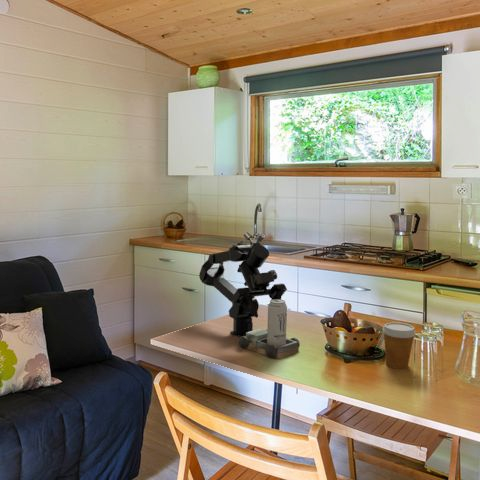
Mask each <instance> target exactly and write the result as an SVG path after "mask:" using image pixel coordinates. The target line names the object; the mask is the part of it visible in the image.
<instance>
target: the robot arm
mask: <svg viewBox="0 0 480 480" xmlns="http://www.w3.org/2000/svg"><path fill="white" fill-rule="evenodd" d="M269 256H270V250H269V249H267V247H265V246H264V245H261V243H260V242H254V243H253V244H252V246H251V244H239V245H238V244H236V245H232V246H231V247H229V248H228V250H224V251H220V252H213V253H210V254H209V256H208V259H207V260H206V261H205V262H204V263H203V264H202V265H201V268H200V271H199V273H198V274H199V279H200V282H201V283H202V284H204V285H205V286H209V287H213V288H215V289H216V290H217V291H219V293H221V295H223V296H224V297H225V298H226V299H227V300H228V301H229V302H230V303H231V304H232V305H231V307H230V309H229V310H228V316H229V317H230V318H231V319H233V328H232V329H233V330H232V331H230V332H229V333H230V334H232V335H235V336H238V337H239V338H240V337H242V336H246V332H250V331H253V330H254V329H253V328H254V326H253V325H254V323H253V318H254V317H255V318H256V319H257V318H258V317H259V313H258V312H259V308H260V307H259V305H260V304H259V301H258V300H257V298H256V297H262V296H263V297H264V296H269V299H270V300H274V299H280V300H282V296H284V294H285V293H286V291H287V290H288V288H287V286H286V285H285V283H275V284H273V285H272V286H271V288H268V287H269V286H270V284H271V283H273V282H275V280H277V279H278V273H277V272H276V271H275V269H270V270H269V271H266V272H260V270H259V269H260V268H261V267H262V266H263V265H264V263H265V262H266V261H267V259H268V258H269ZM225 262H226V263H227V262H234V263H238V262H241V263H240V264H238V267H237V273H241V274H242V276H243V279H244V283H243V284H244V286H245V287H238V288H236V287H235V286H234V285H233V284H232V283H230V281H228V280H226V278H225V277H224V272H225V267H224V263H225ZM215 264H219V266H218V267H217V266H216V267H213V266H214V265H215Z"/></svg>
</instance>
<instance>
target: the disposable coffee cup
mask: <svg viewBox="0 0 480 480" xmlns="http://www.w3.org/2000/svg"><path fill="white" fill-rule="evenodd" d="M382 329H383V332H384V340H383V341H384V351H385V364H386V366H387V367H390V368H392V369H397V370H398V369H399V370H400V369H401V370H402V369H407V368H408V367H409V363H410V356H411V351H412V347H413V346H412V345H413V341H414V338H415V337H414V336H415V335H416V331H415V327H414V326H413V325H411V324H408V323H403V322H388V323H385V324H384V325H383V328H382Z"/></svg>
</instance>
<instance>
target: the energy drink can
mask: <svg viewBox="0 0 480 480" xmlns="http://www.w3.org/2000/svg"><path fill="white" fill-rule="evenodd" d="M287 316H288V305H287V304H286V300H284V299H281V300H280V299H274V300H271V299H270V300H269V304H268V306H267V329H268V330H267V329H266V330H267V344H270V345H273V346H276V347H280V346H283V345H286V338H287V323H288V322H287V318H288V317H287Z"/></svg>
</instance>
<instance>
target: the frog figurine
mask: <svg viewBox="0 0 480 480" xmlns="http://www.w3.org/2000/svg"><path fill="white" fill-rule="evenodd" d="M384 341H385V340H384V332H383V333H382V336H381V338H380V340H379V343H378V345H377V348H376V349H378V348H380V347H381V346H382V344H383V342H384Z"/></svg>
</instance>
